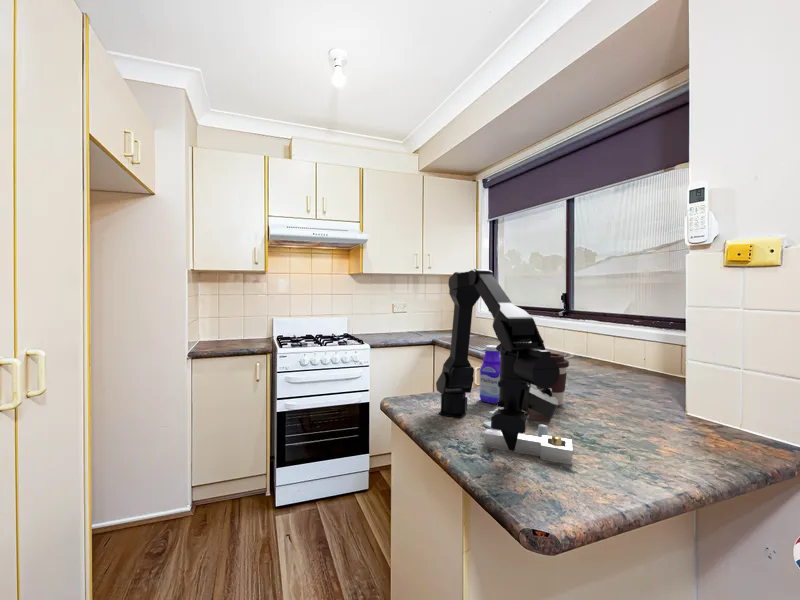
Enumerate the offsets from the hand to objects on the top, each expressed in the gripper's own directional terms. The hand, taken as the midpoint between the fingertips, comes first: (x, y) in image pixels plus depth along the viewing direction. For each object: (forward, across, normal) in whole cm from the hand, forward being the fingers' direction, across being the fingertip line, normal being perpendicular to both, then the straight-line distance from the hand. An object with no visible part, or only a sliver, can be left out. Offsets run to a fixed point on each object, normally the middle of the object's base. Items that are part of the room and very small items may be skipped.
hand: (511, 450), depth 80 cm
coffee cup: (+2, +46, -6) cm, 46 cm away
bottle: (+2, +39, +10) cm, 40 cm away
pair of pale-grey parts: (+2, +16, +1) cm, 17 cm away
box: (+2, +30, -4) cm, 30 cm away
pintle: (+2, +6, -8) cm, 11 cm away
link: (+2, +6, -2) cm, 7 cm away
